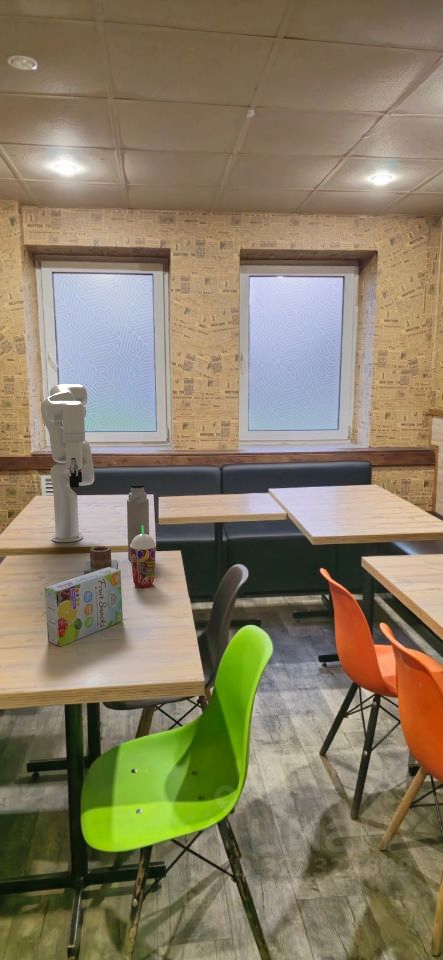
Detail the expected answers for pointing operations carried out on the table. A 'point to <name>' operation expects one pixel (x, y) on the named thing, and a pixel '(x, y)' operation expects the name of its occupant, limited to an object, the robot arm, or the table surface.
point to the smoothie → (143, 560)
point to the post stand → (90, 569)
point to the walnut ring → (100, 557)
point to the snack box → (83, 605)
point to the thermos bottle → (137, 513)
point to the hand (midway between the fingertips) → (76, 484)
